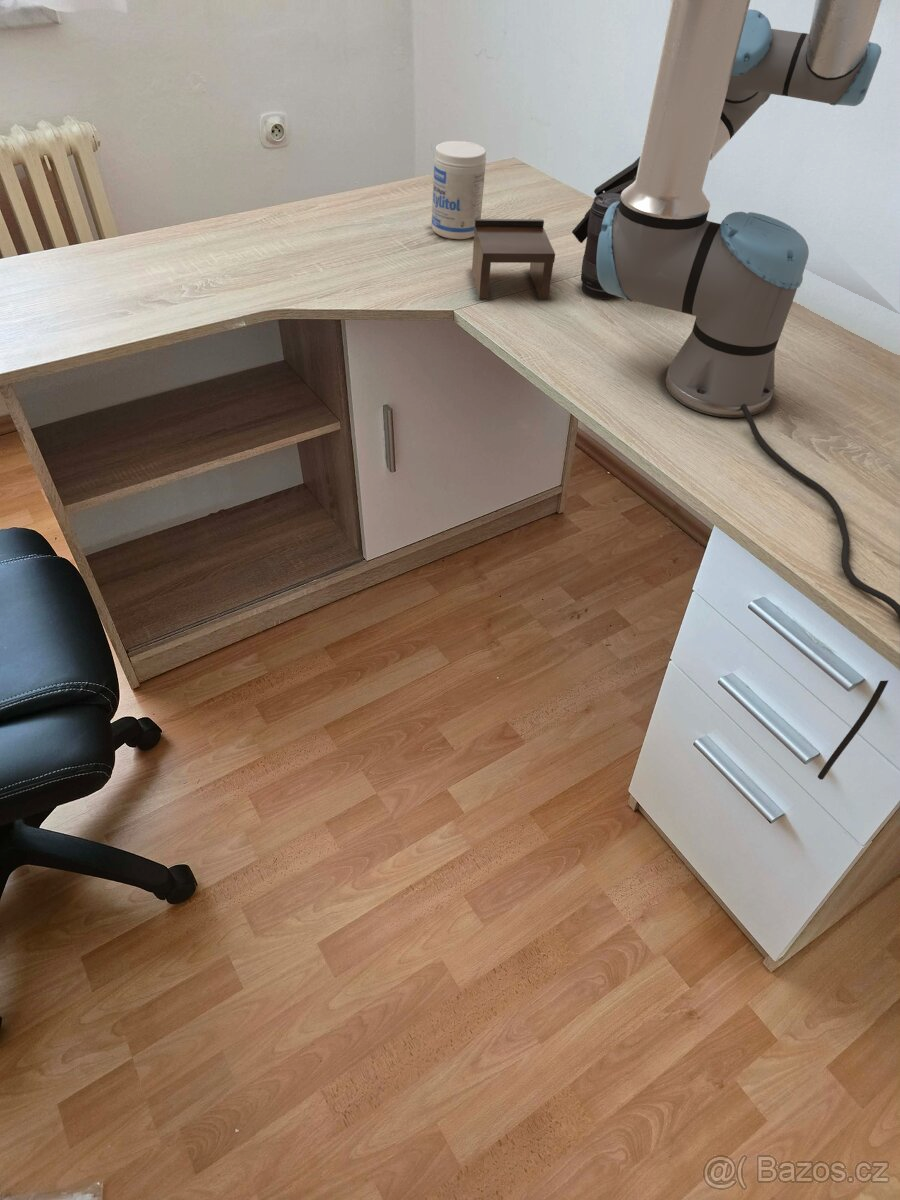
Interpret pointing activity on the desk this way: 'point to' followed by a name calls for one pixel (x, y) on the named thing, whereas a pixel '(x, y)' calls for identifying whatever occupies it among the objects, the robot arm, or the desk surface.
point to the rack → (512, 251)
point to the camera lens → (595, 246)
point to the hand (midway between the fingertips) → (597, 253)
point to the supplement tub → (457, 188)
